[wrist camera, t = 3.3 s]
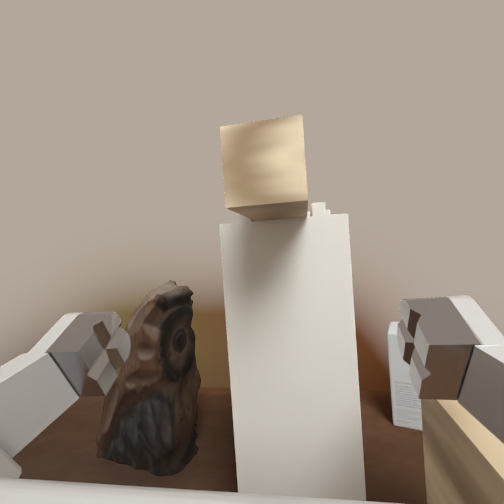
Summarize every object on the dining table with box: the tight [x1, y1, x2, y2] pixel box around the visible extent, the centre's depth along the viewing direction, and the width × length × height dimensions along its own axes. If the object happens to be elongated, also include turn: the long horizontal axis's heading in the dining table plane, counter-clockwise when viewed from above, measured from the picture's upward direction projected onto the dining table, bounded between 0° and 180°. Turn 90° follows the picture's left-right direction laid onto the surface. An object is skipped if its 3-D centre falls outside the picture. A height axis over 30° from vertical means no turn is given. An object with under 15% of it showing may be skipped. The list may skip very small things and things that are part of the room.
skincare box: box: [387, 322, 423, 431], centre depth 40 cm, size 6×4×12 cm
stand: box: [219, 202, 366, 501], centre depth 32 cm, size 10×16×28 cm, turn 170°
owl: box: [96, 281, 201, 476], centre depth 38 cm, size 13×13×20 cm
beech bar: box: [220, 115, 308, 221], centre depth 25 cm, size 4×22×4 cm, turn 170°
